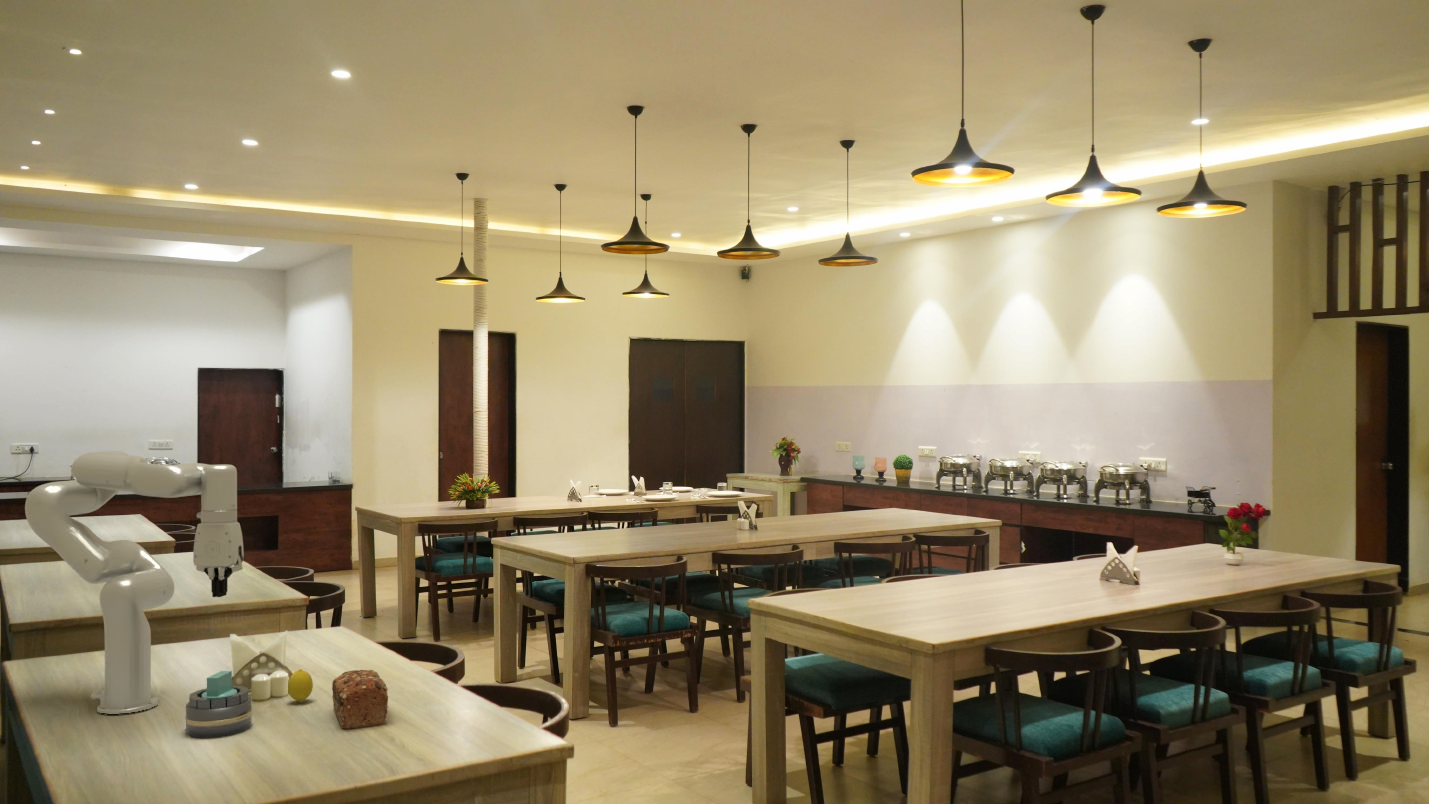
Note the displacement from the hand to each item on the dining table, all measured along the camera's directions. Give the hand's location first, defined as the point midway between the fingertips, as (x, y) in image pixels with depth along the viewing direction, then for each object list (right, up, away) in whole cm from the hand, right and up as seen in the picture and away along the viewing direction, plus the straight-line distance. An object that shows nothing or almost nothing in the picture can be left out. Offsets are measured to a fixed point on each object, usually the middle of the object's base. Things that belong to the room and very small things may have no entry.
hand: (219, 595), depth 239 cm
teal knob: (+6, -21, -13) cm, 25 cm away
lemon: (+16, -27, +7) cm, 32 cm away
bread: (+34, -27, -4) cm, 44 cm away
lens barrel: (+6, -27, -13) cm, 30 cm away
